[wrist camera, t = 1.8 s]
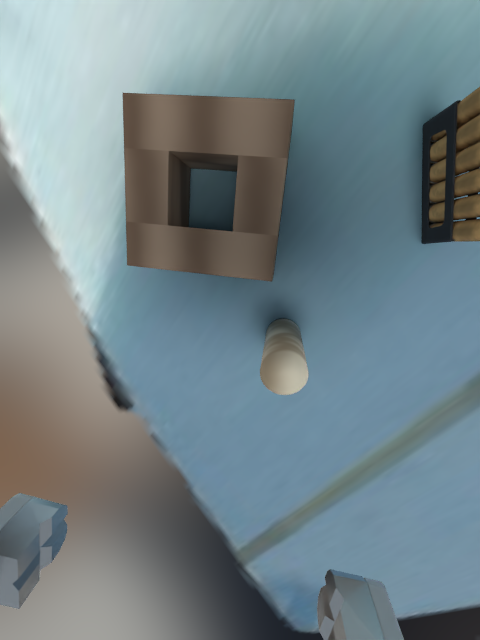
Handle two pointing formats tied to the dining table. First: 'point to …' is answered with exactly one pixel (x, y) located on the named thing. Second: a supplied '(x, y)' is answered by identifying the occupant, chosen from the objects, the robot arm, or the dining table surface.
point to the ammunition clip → (452, 173)
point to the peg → (283, 358)
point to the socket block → (213, 154)
